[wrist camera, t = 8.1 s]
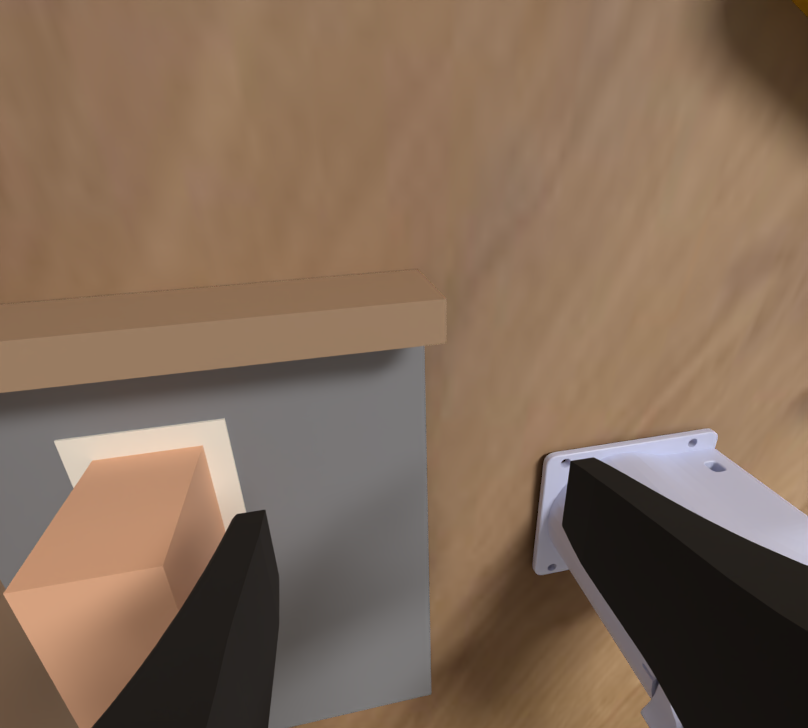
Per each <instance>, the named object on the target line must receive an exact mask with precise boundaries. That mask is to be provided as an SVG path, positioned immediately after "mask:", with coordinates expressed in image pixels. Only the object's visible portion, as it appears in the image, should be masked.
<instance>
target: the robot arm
mask: <svg viewBox="0 0 808 728" xmlns="http://www.w3.org/2000/svg"><path fill="white" fill-rule="evenodd" d="M717 438H718V435H717V433H716V432H714V431H713V430H711V429H700V430H694V431H688V432H681V433H675V434H668V435H662V436H655V437H649V438H642V439H636V440H630V441H623V442H617V443H610V444H604V445H597V446H591V447H584V448H578V449H572V450H565V451H559V452H553V453H550V454H549V455H547V456H546V458H545V459H544V462H543V471H542V480H541V490H540V499H539V508H538V518H537V527H536V536H535V546H534V555H533V564H532V567H533V569H534V571H535V573H536V574H538V575H545V574H550V573H555V572H560V571H565V570H570V572H571V573H572V575H573V576H574V578H575V580H576V581H577V583H578V584H579V586H580V587H581V589H582V591H583V592H584V594H585V595H586V597H587V598H588V600H589V602H590V603H591V605H592V606H593V608H594V610H595V611H596V613H597V614H598V616H599V617H600V619H601V621H602V622H603V624H604V625H605V627H606V628H607V630H608V632H609V633H610V635H611V636H612V638H613V639H614V641H615V643H616V644H617V646H618V647H619V649H620V651H621V652H622V654H623V655H624V657H625V658H626V660H627V662H628V663H629V665H630V666H631V668H632V669H633V671H634V673H635V674H636V676H637V677H638V679H639V680H640V682H641V684H642V685H643V687H644V688H645V690H646V692H647V693H648V695H649V696H650V698H651V700H650V702H649V703H648V704H647V705H646V706H645V707H644V708H643V709H642V710H641V714H642V716H643V718H644V719H645V721H646V723H647V724H648V726H649V728H808V516H807V515H805V514H804V513H803V512H801V511H800V510H799V509H797V508H796V507H794V506H793V505H792V504H790V503H789V502H788V501H786V500H785V499H783V498H782V497H781V496H779V495H778V494H777V493H775V492H774V491H773V490H771V489H770V488H768V487H767V486H766V485H764V484H763V483H762V482H760V481H759V480H757V479H756V478H755V477H753V476H752V475H751V474H749V473H748V472H746V471H745V470H744V469H742V468H741V467H740V466H738V465H737V464H735V463H734V462H733V461H731V460H730V459H729V458H727V457H726V456H724V455H723V454H722V453H720V452H719V451H718V450H716V449H715V446H716V442H717ZM565 459H566V460H565ZM563 460H565V461H564V462H563V463H561V462H562V461H563ZM278 632H279V573H278V568H277V563H276V558H275V553H274V548H273V544H272V539H271V534H270V529H269V524H268V519H267V515H266V510H259V511H252V512H246V513H240V514H236V515H235V516H234V518H233V519H232V520H231V522H230V524H229V526H228V528H227V530H226V532H225V534H224V536H223V538H222V540H221V542H220V543H219V545H218V547H217V549H216V551H215V552H214V554H213V556H212V558H211V559H210V561H209V563H208V565H207V566H206V568H205V570H204V572H203V573H202V575H201V576H200V578H199V580H198V581H197V583H196V585H195V586H194V588H193V590H192V591H191V593H190V594H189V596H188V598H187V599H186V601H185V602H184V604H183V606H182V607H181V609H180V610H179V612H178V613H177V615H176V616H175V618H174V619H173V620H172V622H171V623H170V625H169V626H168V628H167V629H166V631H165V632H164V634H163V635H162V637H161V638H160V640H159V641H158V643H157V644H156V645H155V647H154V648H153V650H152V651H151V652H150V654H149V655H148V657H147V658H146V659H145V661H144V662H143V663H142V665H141V666H140V667H139V669H138V670H137V671H136V673H135V674H134V675H133V677H132V678H131V679H130V681H129V682H128V683H127V684H126V686H125V687H124V688H123V690H122V691H121V692H120V693H119V695H118V696H117V697H116V699H115V700H114V701H113V702H112V704H111V705H110V706H109V707H108V708H107V710H106V711H105V712H104V713H103V714H102V716H101V717H100V718H99V719H98V720H97V722H96V723H95V724H94V725H93V726H92V728H268V724H269V715H270V706H271V697H272V688H273V679H274V670H275V661H276V651H277V642H278Z"/></svg>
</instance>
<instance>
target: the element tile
mask: <svg viewBox="0 0 808 728" xmlns="http://www.w3.org/2000/svg"><path fill="white" fill-rule="evenodd" d="M792 1H793V2H794V4H795V5H796V6H797V7H798V8H799V9H800V10H801V11H802V12H803V13H804V14H805V15H806V16H807V17H808V0H792Z"/></svg>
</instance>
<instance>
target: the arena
mask: <svg viewBox="0 0 808 728" xmlns="http://www.w3.org/2000/svg"><path fill="white" fill-rule="evenodd" d="M437 344H446V298H445V297H444V296H443V295H442V294H441V293H440V291H439V290H438V289H437V288H436V287H435V286H434V285H433V284H432V283H431V282H430V281H429V280H428V279H427V278H426V277H425V276H424V275H423V274H422V273H421V272H420V271H419V270H418V269H415V270H403V271H391V272H380V273H368V274H356V275H344V276H332V277H320V278H308V279H297V280H285V281H273V282H261V283H249V284H237V285H225V286H214V287H202V288H190V289H178V290H166V291H154V292H142V293H131V294H119V295H107V296H95V297H83V298H71V299H59V300H48V301H36V302H24V303H12V304H0V728H79V727H78V725H77V723H76V722H75V720H74V718H73V716H72V715H71V713H70V711H69V709H68V707H67V706H66V704H65V702H64V700H63V699H62V697H61V695H60V693H59V692H58V690H57V688H56V686H55V685H54V683H53V681H52V679H51V678H50V676H49V674H48V672H47V670H46V669H45V667H44V665H43V663H42V662H41V660H40V658H39V656H38V655H37V653H36V651H35V649H34V648H33V646H32V644H31V642H30V641H29V639H28V637H27V635H26V633H25V632H24V630H23V628H22V626H21V625H20V623H19V621H18V619H17V618H16V616H15V614H14V612H13V611H12V609H11V607H10V605H9V603H8V602H7V600H6V598H5V596H4V595H3V593H4V592H5V590H6V589H7V587H8V586H9V584H10V583H11V581H12V580H13V578H14V577H15V575H16V574H17V572H18V571H19V569H20V568H21V566H22V565H23V563H24V562H25V560H26V559H27V557H28V556H29V554H30V553H31V551H32V550H33V548H34V547H35V545H36V544H37V542H38V541H39V539H40V538H41V536H42V535H43V533H44V532H45V530H46V529H47V527H48V526H49V524H50V523H51V521H52V520H53V518H54V517H55V515H56V514H57V512H58V511H59V509H60V508H61V506H62V505H63V503H64V502H65V500H66V499H67V498H68V496H69V495H70V493H71V492H72V490H73V489H74V487H75V486H76V484H77V483H78V481H79V480H80V478H81V477H82V475H83V474H84V472H85V471H86V469H87V468H88V466H89V465H90V463H91V462H92V461H93V460H100V459H107V458H115V457H122V456H129V455H136V454H144V453H151V452H158V451H166V450H173V449H180V448H187V447H195V446H202V445H203V448H204V452H205V455H206V459H207V463H208V467H209V471H210V474H211V478H212V482H213V486H214V490H215V493H216V497H217V501H218V505H219V509H220V512H221V516H222V520H223V524H224V528H225V532H226V530H227V528H228V526H229V524H230V522H231V520H232V519H233V518H234V516H235V515H236V514H240V513H246V512H252V511H259V510H266V515H267V519H268V524H269V529H270V534H271V539H272V544H273V548H274V553H275V558H276V563H277V568H278V573H279V632H278V642H277V651H276V661H275V670H274V679H273V688H272V697H271V706H270V715H269V724H268V728H289V727H293V726H297V725H301V724H306V723H310V722H314V721H319V720H323V719H327V718H332V717H336V716H340V715H344V714H349V713H353V712H357V711H362V710H366V709H370V708H375V707H379V706H383V705H387V704H392V703H396V702H400V701H405V700H409V699H413V698H417V697H422V696H426V695H430V694H431V651H430V602H429V552H428V502H427V453H426V403H425V354H424V346H428V345H437Z"/></svg>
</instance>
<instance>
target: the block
mask: <svg viewBox="0 0 808 728" xmlns="http://www.w3.org/2000/svg"><path fill="white" fill-rule="evenodd" d="M224 534H225V528H224V524H223V520H222V516H221V512H220V509H219V505H218V501H217V497H216V493H215V490H214V486H213V482H212V478H211V474H210V471H209V467H208V463H207V459H206V455H205V452H204V448H203V445H202V446H195V447H187V448H180V449H173V450H166V451H158V452H151V453H144V454H136V455H129V456H122V457H115V458H107V459H100V460H93V461H92V462H91V463H90V465H89V466H88V468H87V469H86V471H85V472H84V474H83V475H82V477H81V478H80V480H79V481H78V483H77V484H76V486H75V487H74V489H73V490H72V492H71V493H70V495H69V496H68V498H67V499H66V500H65V502H64V503H63V505H62V506H61V508H60V509H59V511H58V512H57V514H56V515H55V517H54V518H53V520H52V521H51V523H50V524H49V526H48V527H47V529H46V530H45V532H44V533H43V535H42V536H41V538H40V539H39V541H38V542H37V544H36V545H35V547H34V548H33V550H32V551H31V553H30V554H29V556H28V557H27V559H26V560H25V562H24V563H23V565H22V566H21V568H20V569H19V571H18V572H17V574H16V575H15V577H14V578H13V580H12V581H11V583H10V584H9V586H8V587H7V589H6V590H5V592H4V593H3V595H4V596H5V598H6V600H7V602H8V603H9V605H10V607H11V609H12V611H13V612H14V614H15V616H16V618H17V619H18V621H19V623H20V625H21V626H22V628H23V630H24V632H25V633H26V635H27V637H28V639H29V641H30V642H31V644H32V646H33V648H34V649H35V651H36V653H37V655H38V656H39V658H40V660H41V662H42V663H43V665H44V667H45V669H46V670H47V672H48V674H49V676H50V678H51V679H52V681H53V683H54V685H55V686H56V688H57V690H58V692H59V693H60V695H61V697H62V699H63V700H64V702H65V704H66V706H67V707H68V709H69V711H70V713H71V715H72V716H73V718H74V720H75V722H76V723H77V725H78V727H79V728H92V726H93V725H94V724H95V723H96V722H97V720H98V719H99V718H100V717H101V716H102V714H103V713H104V712H105V711H106V710H107V708H108V707H109V706H110V705H111V704H112V702H113V701H114V700H115V699H116V697H117V696H118V695H119V693H120V692H121V691H122V690H123V688H124V687H125V686H126V684H127V683H128V682H129V681H130V679H131V678H132V677H133V675H134V674H135V673H136V671H137V670H138V669H139V667H140V666H141V665H142V663H143V662H144V661H145V659H146V658H147V657H148V655H149V654H150V652H151V651H152V650H153V648H154V647H155V645H156V644H157V643H158V641H159V640H160V638H161V637H162V635H163V634H164V632H165V631H166V629H167V628H168V626H169V625H170V623H171V622H172V620H173V619H174V618H175V616H176V615H177V613H178V612H179V610H180V609H181V607H182V606H183V604H184V602H185V601H186V599H187V598H188V596H189V594H190V593H191V591H192V590H193V588H194V586H195V585H196V583H197V581H198V580H199V578H200V576H201V575H202V573H203V572H204V570H205V568H206V566H207V565H208V563H209V561H210V559H211V558H212V556H213V554H214V552H215V551H216V549H217V547H218V545H219V543H220V542H221V540H222V538H223V536H224Z"/></svg>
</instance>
